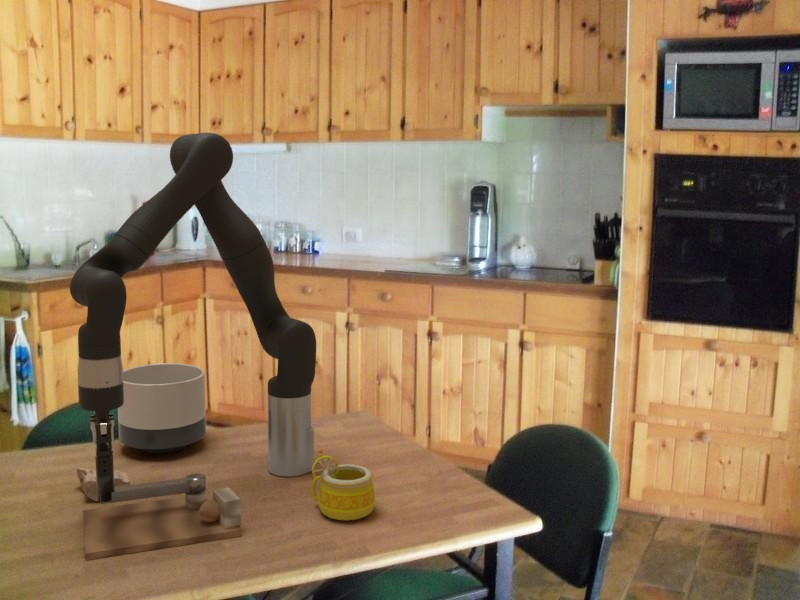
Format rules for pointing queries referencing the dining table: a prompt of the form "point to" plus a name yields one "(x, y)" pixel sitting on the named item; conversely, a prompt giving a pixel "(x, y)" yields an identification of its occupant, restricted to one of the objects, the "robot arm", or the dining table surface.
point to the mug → (344, 490)
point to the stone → (90, 484)
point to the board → (161, 523)
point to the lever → (146, 487)
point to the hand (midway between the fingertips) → (103, 467)
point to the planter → (162, 407)
